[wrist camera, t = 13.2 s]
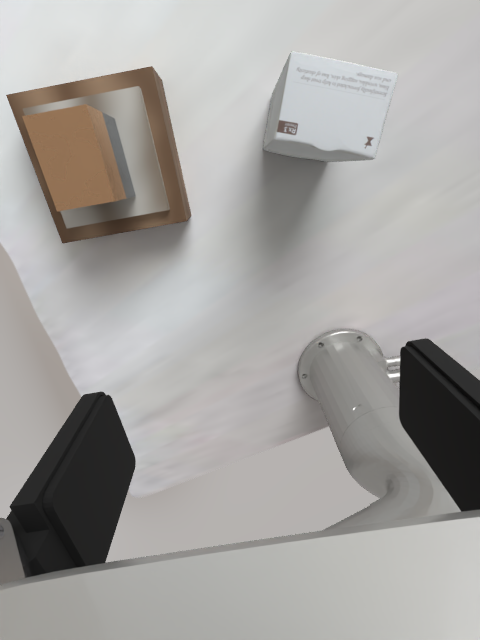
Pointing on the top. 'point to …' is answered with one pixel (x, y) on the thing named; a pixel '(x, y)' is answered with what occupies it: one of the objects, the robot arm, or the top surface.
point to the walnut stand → (138, 145)
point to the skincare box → (328, 109)
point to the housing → (80, 156)
